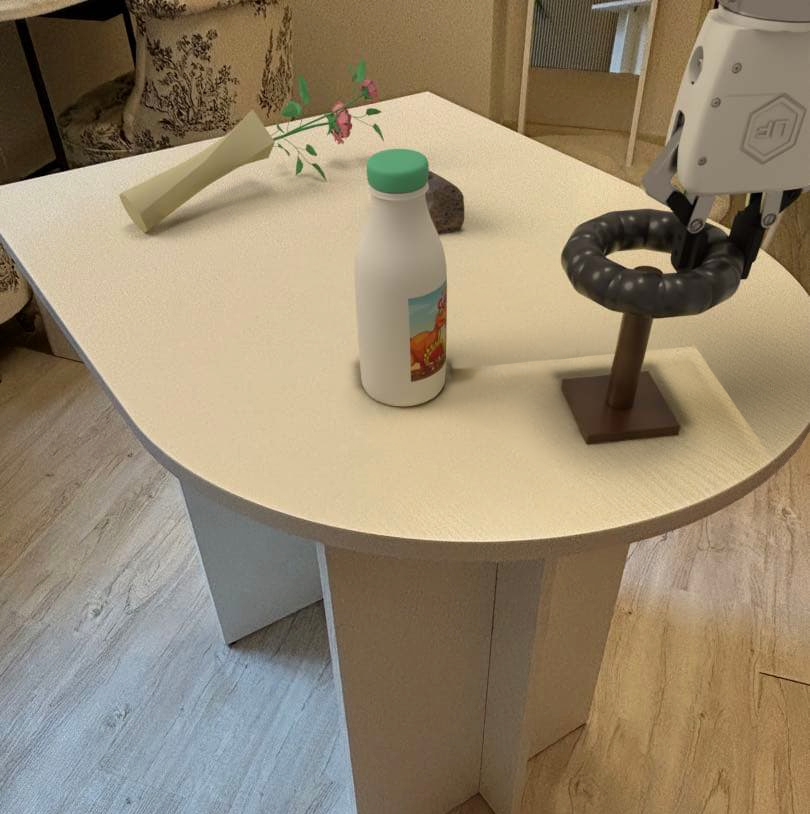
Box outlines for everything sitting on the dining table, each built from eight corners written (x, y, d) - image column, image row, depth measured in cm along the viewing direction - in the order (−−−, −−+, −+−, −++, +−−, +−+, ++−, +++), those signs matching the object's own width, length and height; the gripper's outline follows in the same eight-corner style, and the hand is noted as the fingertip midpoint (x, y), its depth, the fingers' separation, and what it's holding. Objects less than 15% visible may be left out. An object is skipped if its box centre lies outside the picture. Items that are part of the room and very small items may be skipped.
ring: (696, 233, 65) (705, 196, 63) (766, 316, 57) (780, 277, 54) (541, 246, 64) (546, 209, 62) (589, 333, 56) (596, 294, 53)
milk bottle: (381, 418, 70) (368, 188, 55) (349, 371, 74) (329, 149, 60) (460, 395, 72) (468, 167, 57) (423, 351, 76) (422, 131, 62)
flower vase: (157, 274, 103) (361, 141, 112) (191, 284, 94) (410, 139, 103) (102, 185, 96) (325, 51, 105) (132, 187, 86) (373, 40, 95)
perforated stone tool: (357, 210, 98) (353, 151, 92) (392, 198, 100) (390, 140, 95) (432, 256, 89) (432, 195, 84) (468, 243, 91) (470, 181, 86)
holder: (646, 379, 73) (679, 243, 63) (678, 434, 67) (719, 295, 58) (560, 388, 72) (581, 252, 63) (586, 444, 67) (612, 305, 57)
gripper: (679, 12, 44) (619, 308, 58) (956, -4, 46) (835, 289, 59) (634, -21, 49) (589, 258, 63) (885, -34, 51) (788, 242, 64)
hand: (709, 270), depth 61 cm, fingers closed on ring, 3 cm apart
